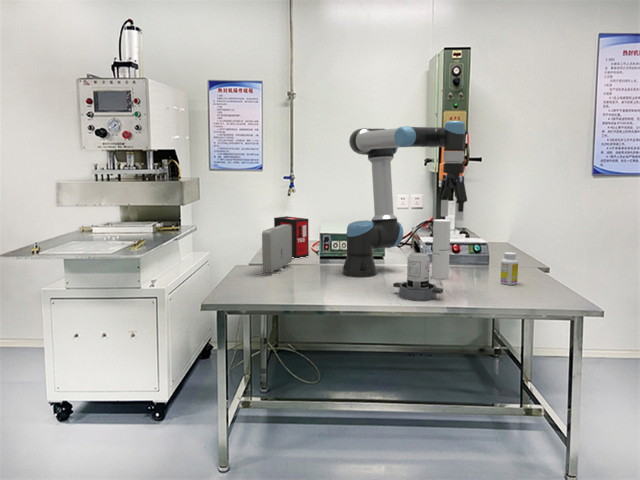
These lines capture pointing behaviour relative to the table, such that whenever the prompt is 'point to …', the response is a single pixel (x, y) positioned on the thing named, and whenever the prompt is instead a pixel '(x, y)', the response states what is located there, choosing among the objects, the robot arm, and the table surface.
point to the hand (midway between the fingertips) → (451, 218)
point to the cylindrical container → (441, 249)
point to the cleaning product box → (296, 234)
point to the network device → (277, 248)
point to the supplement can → (418, 271)
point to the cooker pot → (417, 292)
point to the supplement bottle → (509, 269)
